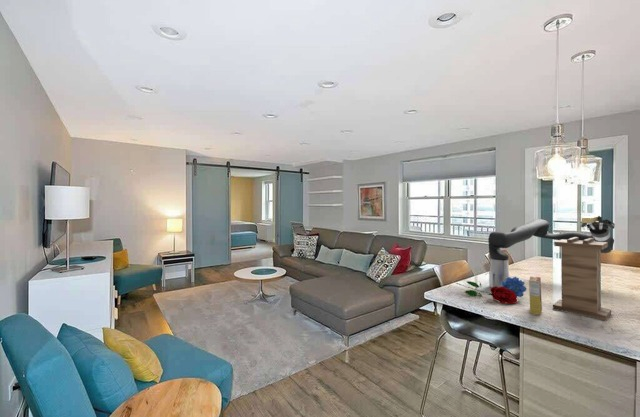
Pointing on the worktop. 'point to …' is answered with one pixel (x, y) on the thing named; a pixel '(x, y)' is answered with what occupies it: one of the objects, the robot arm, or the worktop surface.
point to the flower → (495, 293)
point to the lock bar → (590, 219)
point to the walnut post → (581, 278)
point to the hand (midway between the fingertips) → (594, 217)
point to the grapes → (514, 285)
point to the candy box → (535, 295)
